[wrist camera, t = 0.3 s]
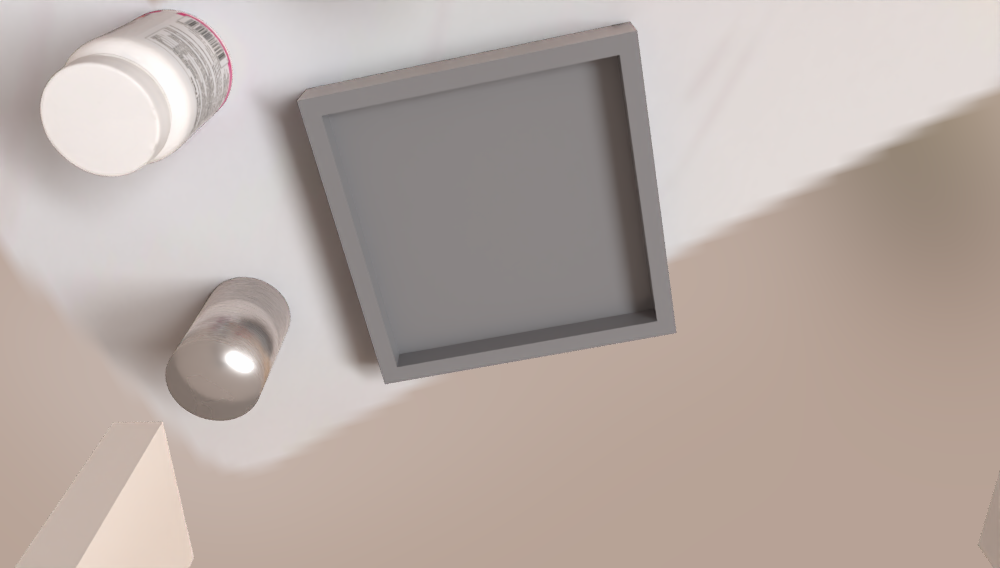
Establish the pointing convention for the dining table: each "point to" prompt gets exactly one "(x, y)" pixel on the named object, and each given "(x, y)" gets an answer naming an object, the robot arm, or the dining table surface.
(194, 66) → the pill bottle
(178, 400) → the cylinder
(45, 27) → the dining table surface
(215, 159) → the dining table surface
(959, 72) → the dining table surface
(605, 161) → the tray
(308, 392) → the dining table surface
